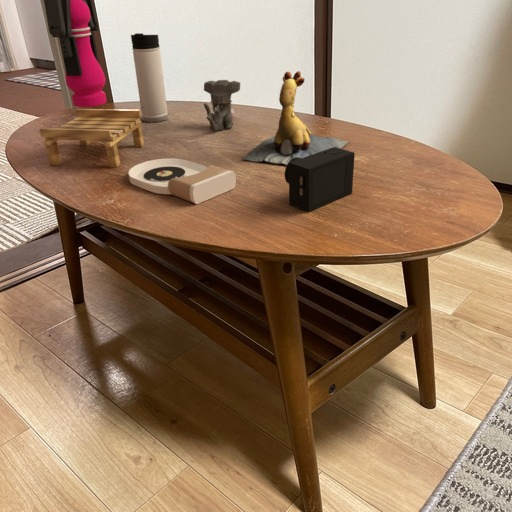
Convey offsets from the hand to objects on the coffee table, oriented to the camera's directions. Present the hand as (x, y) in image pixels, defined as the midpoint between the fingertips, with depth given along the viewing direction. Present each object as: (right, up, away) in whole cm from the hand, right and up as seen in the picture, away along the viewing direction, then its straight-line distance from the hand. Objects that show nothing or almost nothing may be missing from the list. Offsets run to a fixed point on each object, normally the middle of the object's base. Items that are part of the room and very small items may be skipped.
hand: (83, 71), depth 97 cm
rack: (0, -14, +8) cm, 16 cm away
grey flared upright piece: (+23, -4, +24) cm, 34 cm away
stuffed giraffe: (+41, -14, +6) cm, 44 cm away
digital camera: (+42, -26, -14) cm, 52 cm away
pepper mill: (0, -5, +3) cm, 6 cm away
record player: (+19, -22, -7) cm, 30 cm away
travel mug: (+7, -1, +31) cm, 32 cm away
